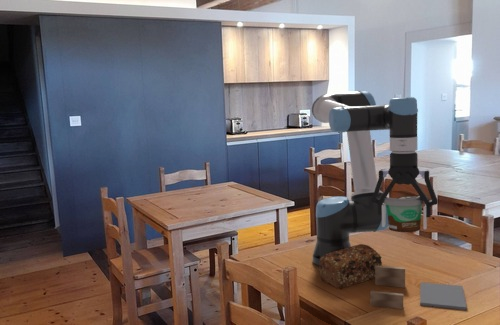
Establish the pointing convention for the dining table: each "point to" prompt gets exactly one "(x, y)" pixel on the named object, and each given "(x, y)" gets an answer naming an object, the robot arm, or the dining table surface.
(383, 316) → the dining table surface
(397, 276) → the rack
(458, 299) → the mat
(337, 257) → the bread
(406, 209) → the food container
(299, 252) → the dining table surface
